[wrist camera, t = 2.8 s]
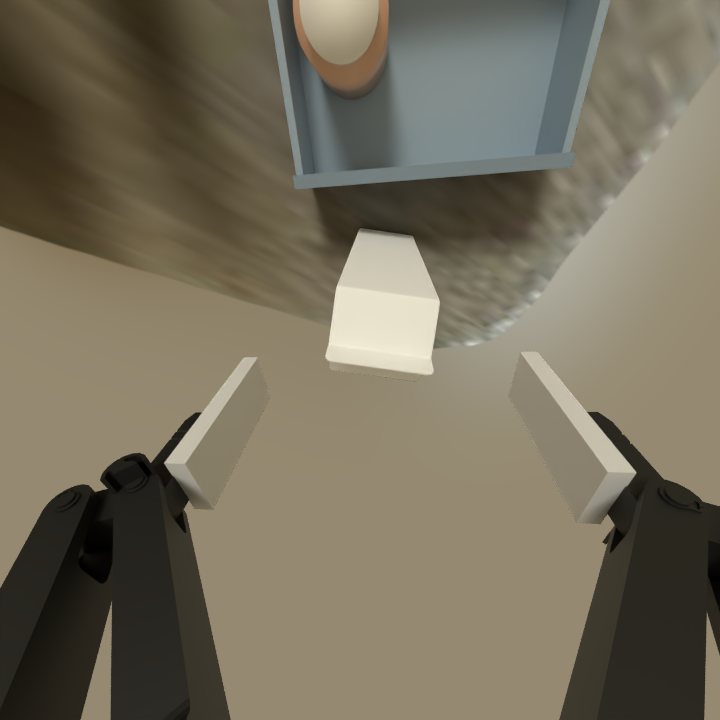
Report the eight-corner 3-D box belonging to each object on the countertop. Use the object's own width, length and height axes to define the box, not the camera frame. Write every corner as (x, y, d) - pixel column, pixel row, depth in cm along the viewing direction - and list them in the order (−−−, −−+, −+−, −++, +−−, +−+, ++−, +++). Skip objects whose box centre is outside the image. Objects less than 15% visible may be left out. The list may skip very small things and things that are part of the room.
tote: (309, 185, 30) (294, 189, 25) (272, -77, 21) (237, -154, 16) (537, 167, 28) (572, 167, 23) (604, -134, 19) (684, -243, 14)
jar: (321, 103, 26) (299, 80, 19) (309, 2, 23) (279, -66, 16) (388, 95, 25) (389, 69, 19) (386, -10, 22) (387, -85, 16)
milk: (359, 227, 32) (325, 304, 14) (413, 235, 32) (452, 323, 14) (353, 281, 35) (319, 401, 17) (402, 288, 36) (421, 416, 17)
